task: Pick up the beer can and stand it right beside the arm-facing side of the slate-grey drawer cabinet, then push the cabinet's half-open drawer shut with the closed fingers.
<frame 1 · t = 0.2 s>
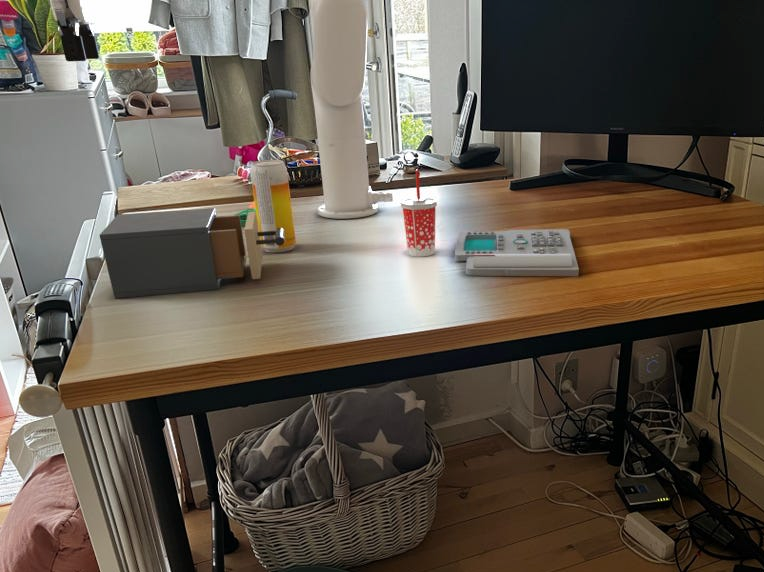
hand: (83, 59, 131), 31 cm above the table, tool pointing down, fingers open, 9 cm apart
magnifying glass: (251, 218, 151), on the table
office telephone: (514, 256, 124), on the table
beer can: (279, 249, 130), on the table
cabinet: (173, 280, 114), on the table
drawer: (227, 246, 114), point 5 cm above the table, slide at 5.0 cm
beverage cup: (421, 253, 126), on the table
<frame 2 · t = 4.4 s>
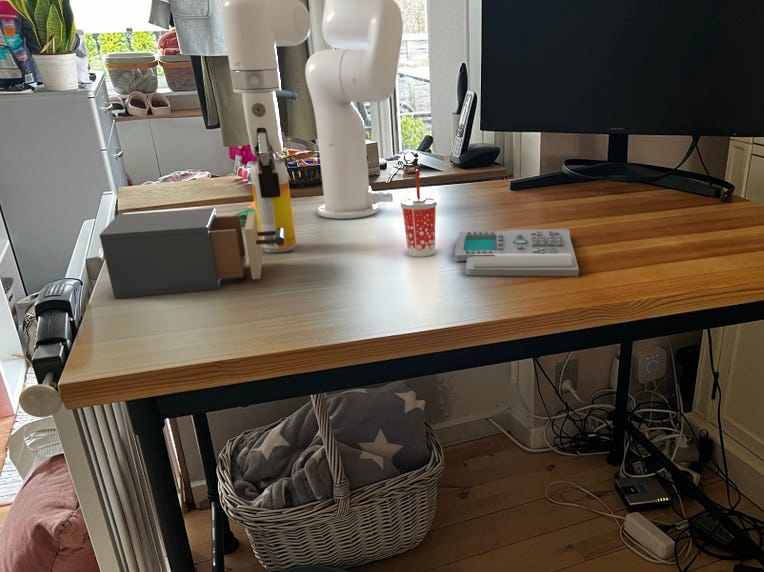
hand: (271, 192, 125), 10 cm above the table, tool pointing down, fingers closed on beer can, 6 cm apart
beer can: (279, 249, 130), on the table, touching gripper
everything else where it was.
when the fingers open (10 cm above the table, at t = 11.3 s): beer can stays where it is, on the table.
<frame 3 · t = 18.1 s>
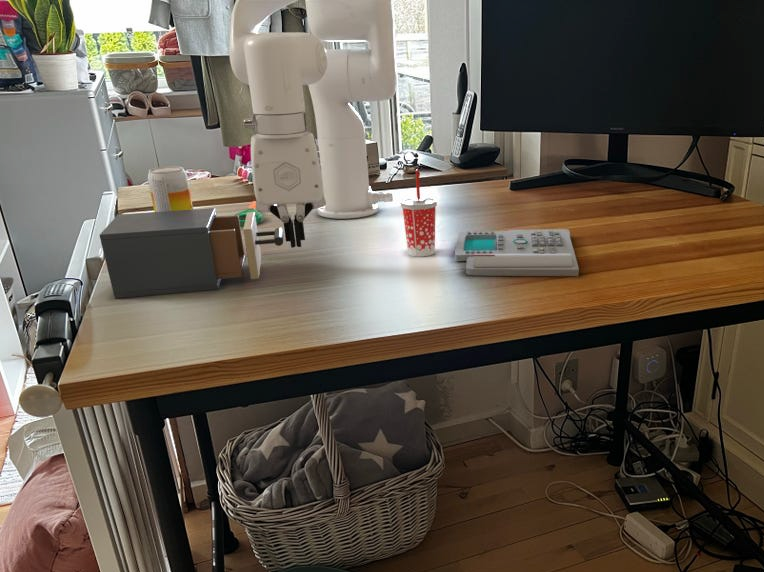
hand: (296, 244, 116), 4 cm above the table, tool pointing down, fingers closed
beer can: (183, 258, 126), on the table
drawer: (226, 246, 114), point 5 cm above the table, slide at 4.8 cm, touching gripper
everything else where it was.
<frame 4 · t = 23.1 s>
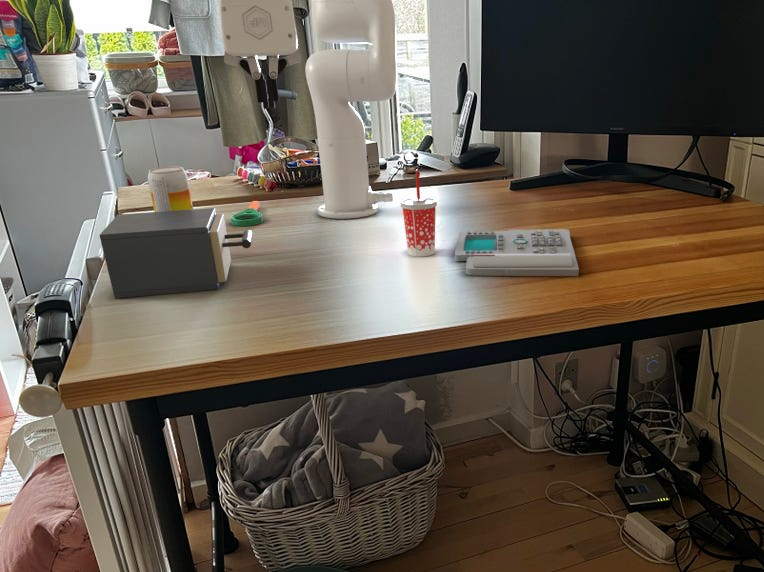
hand: (269, 107, 107), 25 cm above the table, tool pointing down, fingers closed
drawer: (193, 249, 113), point 5 cm above the table, slide at 0.0 cm, touching cabinet
everything else where it was.
at the end: beer can inside the target area (0.1 cm from its centre), on the table; beer can tilted 0°; drawer slide at 0.0 cm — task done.
